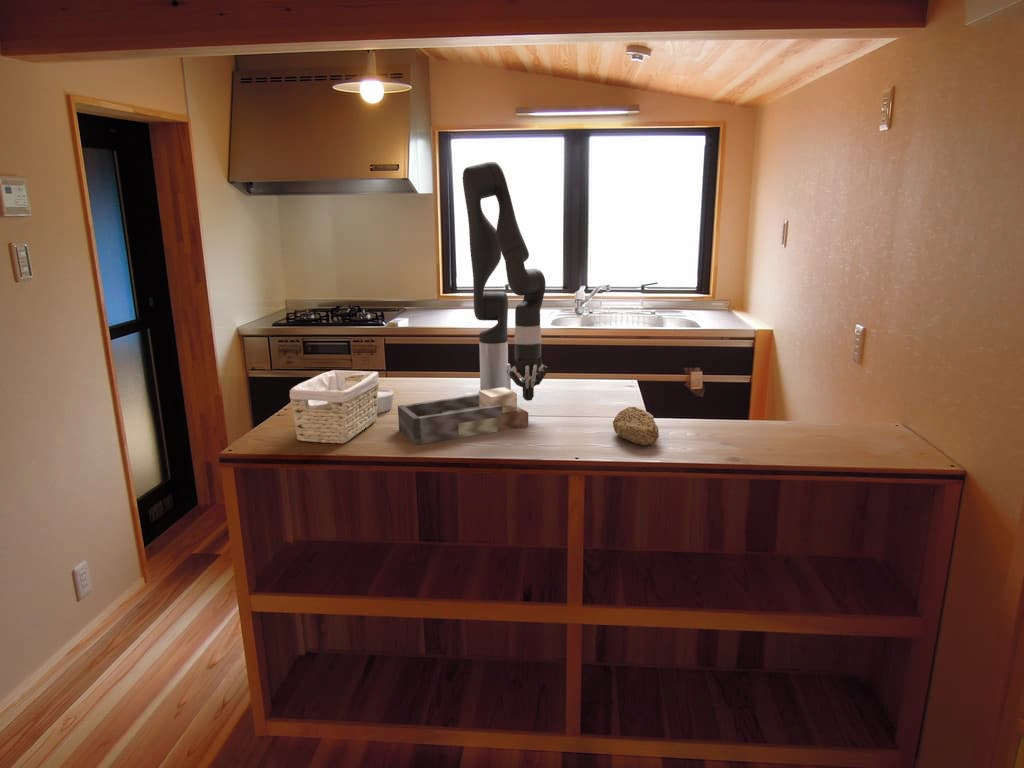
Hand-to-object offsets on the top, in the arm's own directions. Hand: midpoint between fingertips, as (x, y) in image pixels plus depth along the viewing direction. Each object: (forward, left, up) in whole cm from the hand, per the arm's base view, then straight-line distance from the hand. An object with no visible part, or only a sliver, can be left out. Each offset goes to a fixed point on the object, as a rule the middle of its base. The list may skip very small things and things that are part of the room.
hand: (528, 399), depth 198 cm
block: (+10, 0, -1) cm, 10 cm away
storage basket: (+51, -15, -6) cm, 54 cm away
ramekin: (+37, -30, -6) cm, 48 cm away
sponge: (-17, +29, -6) cm, 34 cm away
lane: (+20, 0, -5) cm, 21 cm away
